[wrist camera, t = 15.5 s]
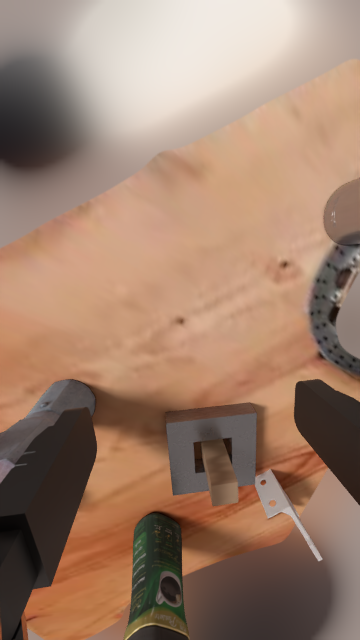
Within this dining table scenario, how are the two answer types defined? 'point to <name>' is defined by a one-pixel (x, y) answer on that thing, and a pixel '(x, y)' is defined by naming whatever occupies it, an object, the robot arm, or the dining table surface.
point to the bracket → (280, 503)
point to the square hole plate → (209, 426)
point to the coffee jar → (157, 582)
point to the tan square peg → (219, 472)
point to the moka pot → (42, 419)
